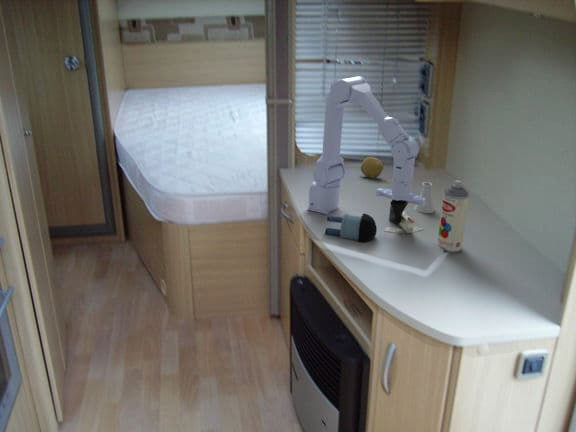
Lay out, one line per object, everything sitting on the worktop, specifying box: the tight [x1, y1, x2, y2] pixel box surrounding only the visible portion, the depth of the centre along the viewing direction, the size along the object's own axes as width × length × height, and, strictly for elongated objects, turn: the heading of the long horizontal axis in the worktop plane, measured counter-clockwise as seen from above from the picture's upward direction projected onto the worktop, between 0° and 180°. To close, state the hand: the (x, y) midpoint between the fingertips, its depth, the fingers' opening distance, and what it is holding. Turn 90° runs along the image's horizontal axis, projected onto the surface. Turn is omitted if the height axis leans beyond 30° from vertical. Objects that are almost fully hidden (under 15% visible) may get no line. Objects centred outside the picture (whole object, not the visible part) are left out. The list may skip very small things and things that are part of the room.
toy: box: [324, 213, 378, 243], centre depth 172 cm, size 8×9×15 cm
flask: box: [413, 181, 435, 214], centre depth 192 cm, size 7×7×10 cm
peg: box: [388, 205, 415, 234], centre depth 179 cm, size 14×4×5 cm, turn 13°
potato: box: [360, 156, 384, 179], centre depth 225 cm, size 7×8×8 cm
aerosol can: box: [437, 179, 470, 255], centre depth 165 cm, size 7×7×20 cm
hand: (397, 223), depth 177 cm, fingers closed, pressing on peg
